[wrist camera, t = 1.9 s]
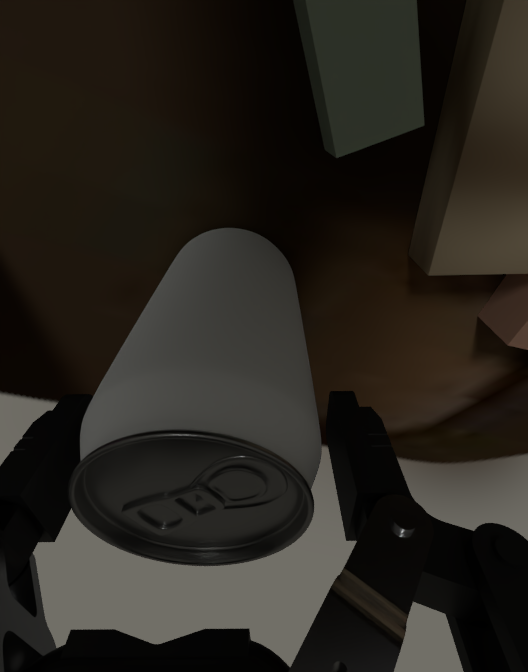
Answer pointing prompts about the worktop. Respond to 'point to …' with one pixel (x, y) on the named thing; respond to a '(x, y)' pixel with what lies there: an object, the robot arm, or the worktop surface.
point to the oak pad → (480, 151)
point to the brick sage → (362, 69)
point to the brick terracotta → (509, 311)
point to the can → (205, 414)
